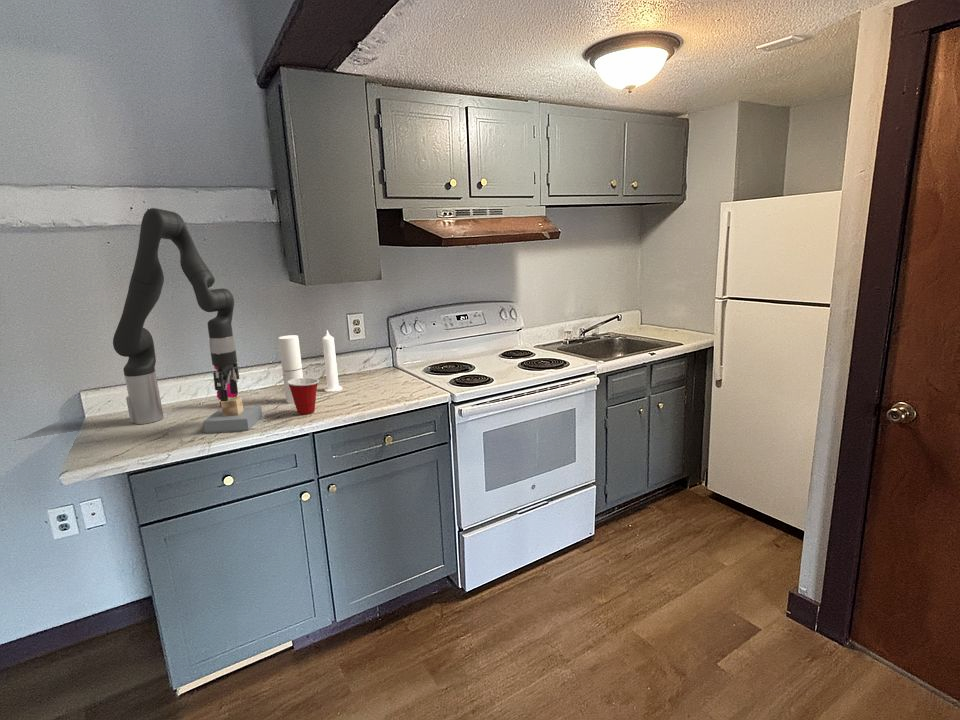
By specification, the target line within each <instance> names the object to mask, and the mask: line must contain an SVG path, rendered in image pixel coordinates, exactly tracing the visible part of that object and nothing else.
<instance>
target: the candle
mask: <svg viewBox="0 0 960 720" xmlns="http://www.w3.org/2000/svg"><path fill="white" fill-rule="evenodd" d="M321 339H322V349H323V359H324V368H325V376H326V384H327V387H324V392H325V393H337V392H340V391H342V390H343V386H341V385H340V384H339V375H338V366H337V365H338V364H337V355H336V346H335V337H333V336H332V335H331V334H330V333H329V330H328V329H326V332H325V335H324V336H323V337H322V338H321Z"/></svg>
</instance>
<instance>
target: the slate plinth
mask: <svg viewBox="0 0 960 720" xmlns="http://www.w3.org/2000/svg"><path fill="white" fill-rule="evenodd" d="M243 410H244V411H242V412H241V413H240V414H239V415H234V416H223V413H222V407H220V408H219V409H218V410H216V411H215V412H213V413H212V414H210V416H208V417H207V418H206V419H204V420H202V421H203V422H202V423H203V429H204V433H205V434H213V433H215V434H216V433H229V432H230V433H231V432H232V433H233V432H247V431H250V430H251V429H252V428H253V427H254V426H255V425H256V424H257V423H258V422H259V421H260V420H261V419H262V418H263V411H262V405H253V406H252V405H251V406H243Z"/></svg>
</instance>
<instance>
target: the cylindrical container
mask: <svg viewBox="0 0 960 720" xmlns="http://www.w3.org/2000/svg"><path fill="white" fill-rule="evenodd" d="M277 338H278V339H277V340H278V347H279V354H280V355H279V356H280V362H281V370H282V377H283V385H284V392H285V401H286V403H288V404H295V403H294V400H293V396H292V393H291V390H290V387H289V384H288V383H287V381H289V380H292V379H297V378H304V372H303V368H302V367H303V365H302V356H301V347H300V340H299V335H298V334H297V335H296V334H295V335H293V334H292V335H289V334H288V335H282V336H279V337H277Z"/></svg>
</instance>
